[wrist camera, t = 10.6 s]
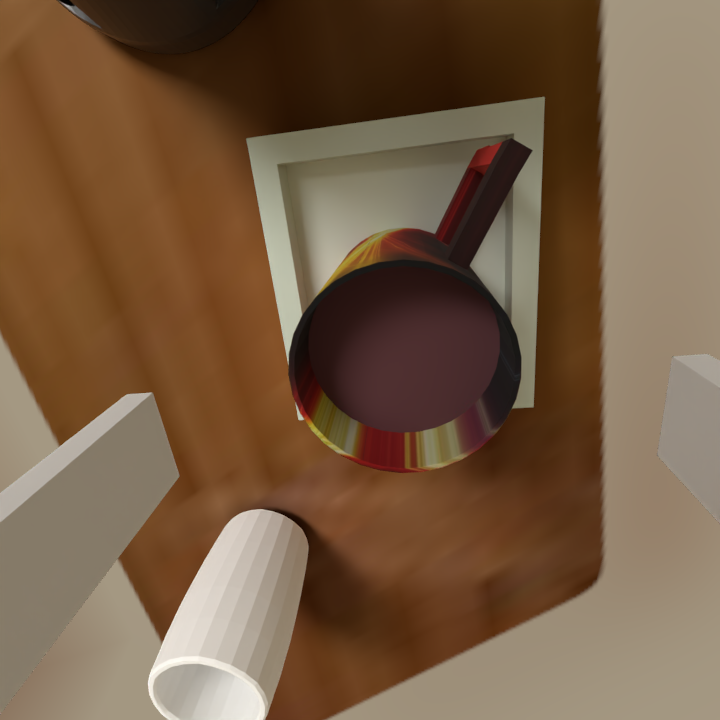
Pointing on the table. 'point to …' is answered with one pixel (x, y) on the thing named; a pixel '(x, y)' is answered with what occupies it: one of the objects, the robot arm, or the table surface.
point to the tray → (399, 203)
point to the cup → (234, 623)
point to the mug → (413, 337)
